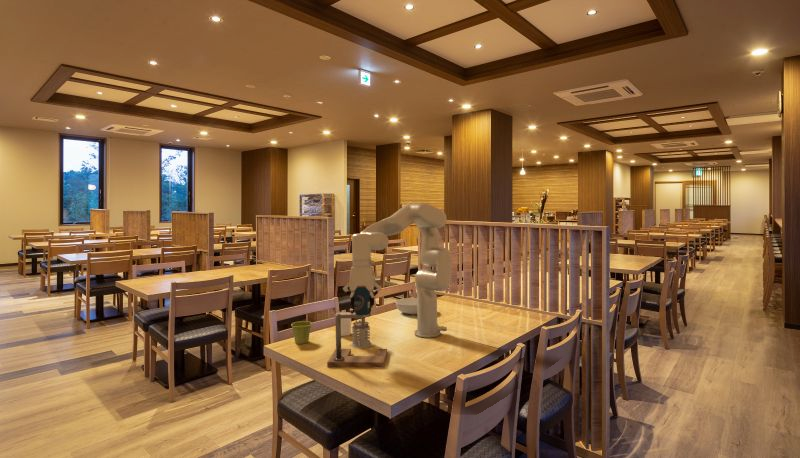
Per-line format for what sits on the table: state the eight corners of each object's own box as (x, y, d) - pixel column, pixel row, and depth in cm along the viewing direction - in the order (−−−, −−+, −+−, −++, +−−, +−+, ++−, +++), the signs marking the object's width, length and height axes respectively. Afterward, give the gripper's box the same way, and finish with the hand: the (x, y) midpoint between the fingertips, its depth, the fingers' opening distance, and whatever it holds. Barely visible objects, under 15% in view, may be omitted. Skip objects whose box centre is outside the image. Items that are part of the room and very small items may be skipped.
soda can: (350, 315, 177) (350, 286, 177) (361, 311, 183) (360, 283, 183) (364, 317, 174) (364, 287, 173) (374, 313, 180) (374, 284, 179)
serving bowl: (432, 317, 243) (432, 305, 243) (395, 317, 243) (395, 305, 243) (430, 308, 264) (430, 297, 263) (396, 308, 264) (395, 297, 264)
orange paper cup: (348, 336, 208) (348, 316, 208) (333, 336, 210) (332, 315, 209) (353, 332, 216) (353, 312, 215) (338, 331, 217) (338, 311, 217)
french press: (374, 341, 200) (373, 287, 198) (367, 350, 188) (366, 292, 187) (354, 340, 202) (353, 287, 200) (346, 348, 190) (344, 292, 189)
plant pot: (316, 340, 204) (315, 321, 203) (305, 346, 195) (304, 327, 194) (298, 338, 207) (298, 320, 206) (287, 344, 198) (287, 325, 197)
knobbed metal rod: (366, 357, 173) (365, 313, 172) (364, 361, 169) (363, 315, 168) (335, 357, 173) (333, 313, 173) (332, 361, 169) (331, 315, 169)
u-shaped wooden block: (387, 353, 183) (387, 348, 183) (383, 367, 167) (383, 362, 167) (335, 353, 185) (335, 348, 185) (327, 367, 169) (327, 362, 169)
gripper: (383, 262, 181) (384, 304, 182) (342, 262, 182) (343, 304, 183) (381, 264, 173) (382, 308, 174) (338, 265, 174) (339, 309, 175)
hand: (362, 306), depth 178 cm, fingers closed on soda can, 6 cm apart
